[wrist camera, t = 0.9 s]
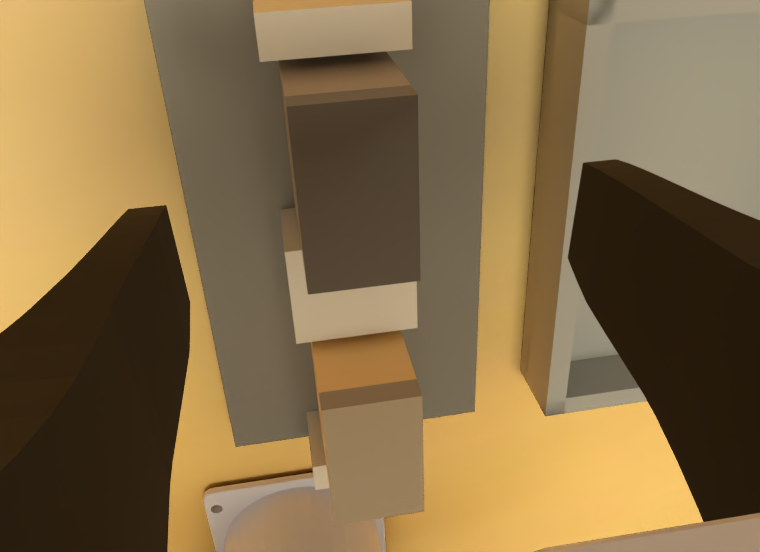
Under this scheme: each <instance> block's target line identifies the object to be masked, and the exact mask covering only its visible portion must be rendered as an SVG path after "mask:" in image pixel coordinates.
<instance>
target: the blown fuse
mask: <svg viewBox="0 0 760 552" xmlns="http://www.w3.org/2000/svg"><path fill="white" fill-rule="evenodd" d="M278 65H279V73H280V82H281V91H282V99H283V108H284V116H285V125H286V133H287V142H288V151H289V159H290V168H291V176H292V185H293V194H294V202H295V209H296V216H297V222H298V229H299V236H300V243H301V250H302V257H303V264H304V271H305V278H306V285H307V292H308V295H310V294H318V293H326V292H334V291H342V290H351V289H359V288H367V287H375V286H383V285H391V284H399V283H407V282H415V281H421V271H420V202H419V134H418V94H417V93H416V91H415V90H414V89H413V87H412V86H411V85H410V83H409V82H408V80H407V79H406V78H405V76H404V75H403V74H402V72H401V71H400V70H399V68H398V67H397V65H396V64H395V63H394V61H393V60H392V59H391V57H390V56H389V55H388V53H387V52H386V51H385V52H373V53H361V54H350V55H338V56H326V57H314V58H302V59H290V60H278Z"/></svg>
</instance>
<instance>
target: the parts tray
mask: <svg viewBox="0 0 760 552" xmlns="http://www.w3.org/2000/svg"><path fill="white" fill-rule="evenodd" d="M613 159H617V160H620V161H623V162H626V163H629V164H632V165H634V166H637V167H639V168H642V169H644V170H646V171H649V172H651V173H653V174H656V175H658V176H660V177H662V178H664V179H667V180H669V181H671V182H673V183H675V184H678V185H680V186H682V187H684V188H686V189H688V190H691V191H693V192H695V193H697V194H699V195H702V196H704V197H706V198H708V199H710V200H713V201H715V202H717V203H720V204H722V205H724V206H726V207H729V208H731V209H733V210H736V211H738V212H740V213H743V214H745V215H748V216H750V217H753V218H755V219H758V220H760V0H549V13H548V25H547V38H546V51H545V64H544V76H543V89H542V102H541V115H540V127H539V140H538V153H537V166H536V178H535V191H534V204H533V217H532V229H531V242H530V255H529V268H528V280H527V293H526V306H525V319H524V331H523V344H522V357H521V372H522V374H523V376H524V378H525V380H526V382H527V383H528V385H529V387H530V389H531V391H532V393H533V395H534V396H535V398H536V400H537V402H538V404H539V406H540V408H541V409H542V411H543V413H544V415H545V416H551V415H557V414H564V413H570V412H577V411H584V410H590V409H597V408H604V407H610V406H617V405H623V404H630V403H637V402H643V401H647V399H646V398H645V396H644V394H643V393H642V391H641V389H640V388H639V386H638V385H637V383H636V381H635V380H634V378H633V377H632V375H631V374H630V372H629V370H628V369H627V367H626V366H625V364H624V362H623V361H622V359H621V358H620V356H619V354H618V353H617V351H616V350H615V348H614V347H613V345H612V343H611V342H610V340H609V339H608V337H607V335H606V334H605V332H604V331H603V329H602V327H601V326H600V324H599V322H598V321H597V319H596V318H595V316H594V314H593V313H592V311H591V309H590V308H589V306H588V304H587V303H586V301H585V298H584V296H583V294H582V292H581V289H580V287H579V285H578V283H577V280H576V278H575V275H574V273H573V270H572V268H571V265H570V263H569V260H568V252H569V246H570V240H571V233H572V227H573V221H574V215H575V209H576V202H577V196H578V190H579V184H580V178H581V171H582V165H583V163H584V162H594V161H604V160H613Z"/></svg>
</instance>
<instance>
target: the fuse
mask: <svg viewBox="0 0 760 552" xmlns="http://www.w3.org/2000/svg"><path fill="white" fill-rule="evenodd" d="M311 348H312V357H313V365H314V374H315V383H316V391H317V400H318V408H319V415H320V423H321V430H322V438H323V445H324V453H325V460H326V468H327V475H328V482H329V490H330V497H331V505H332V512H333V520H334V526H337V525H343V524H349V523H356V522H362V521H368V520H374V519H380V518H386V517H392V516H398V515H404V514H410V513H416V512H423V511H424V477H423V408H422V394H421V391H420V388H419V384H418V381H417V378H416V375H415V372H414V369H413V366H412V363H411V360H410V357H409V354H408V351H407V348H406V345H405V342H404V339H403V336H402V333H401V330H398V331H390V332H382V333H375V334H367V335H360V336H352V337H345V338H337V339H330V340H322V341H314V342H311Z"/></svg>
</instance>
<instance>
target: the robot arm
mask: <svg viewBox="0 0 760 552" xmlns="http://www.w3.org/2000/svg"><path fill="white" fill-rule="evenodd" d="M568 260H569V263H570V265H571V268H572V270H573V273H574V275H575V278H576V280H577V283H578V285H579V287H580V289H581V292H582V294H583V296H584V298H585V301H586V303H587V304H588V306H589V308H590V309H591V311H592V313H593V314H594V316H595V318H596V319H597V321H598V322H599V324H600V326H601V327H602V329H603V331H604V332H605V334H606V335H607V337H608V339H609V340H610V342H611V343H612V345H613V347H614V348H615V350H616V351H617V353H618V354H619V356H620V358H621V359H622V361H623V362H624V364H625V366H626V367H627V369H628V370H629V372H630V374H631V375H632V377H633V378H634V380H635V381H636V383H637V385H638V386H639V388H640V389H641V391H642V393H643V394H644V396H645V398H646V399H647V401H648V403H649V405H650V406H651V408H652V410H653V412H654V414H655V415H656V417H657V419H658V422H659V424H660V426H661V428H662V430H663V432H664V434H665V436H666V438H667V440H668V442H669V445H670V447H671V449H672V451H673V453H674V455H675V457H676V459H677V461H678V464H679V466H680V468H681V470H682V473H683V475H684V477H685V480H686V482H687V484H688V486H689V489H690V491H691V493H692V496H693V498H694V500H695V502H696V505H697V507H698V509H699V512H700V514H701V517H702V519H703V522H701V523H695V524H689V525H683V526H676V527H670V528H664V529H658V530H652V531H646V532H640V533H634V534H627V535H621V536H615V537H609V538H603V539H597V540H591V541H584V542H578V543H572V544H566V545H560V546H554V547H548V548H544V549H541V550H538V551H534V552H760V220H758V219H755V218H753V217H750V216H748V215H745V214H743V213H740V212H738V211H736V210H733V209H731V208H729V207H726V206H724V205H722V204H720V203H717V202H715V201H713V200H710V199H708V198H706V197H704V196H702V195H699V194H697V193H695V192H693V191H691V190H688V189H686V188H684V187H682V186H680V185H678V184H675V183H673V182H671V181H669V180H667V179H664V178H662V177H660V176H658V175H656V174H653V173H651V172H649V171H646V170H644V169H642V168H639V167H637V166H634V165H632V164H629V163H626V162H623V161H620V160H617V159H613V160H604V161H594V162H584V163H583V165H582V171H581V178H580V184H579V190H578V196H577V202H576V209H575V215H574V221H573V227H572V233H571V240H570V246H569V252H568ZM189 348H190V300H189V296H188V292H187V288H186V284H185V280H184V276H183V272H182V268H181V264H180V260H179V256H178V251H177V247H176V243H175V239H174V235H173V231H172V227H171V223H170V219H169V215H168V211H167V207H166V205H164V206H155V207H145V208H135V209H128V210H127V211H126V212H125V213H124V214H123V215H122V216H121V217H120V218H119V219H118V220H117V221H116V223H115V224H114V225H113V226H112V227H111V228H110V229H109V230H108V231H107V232H106V234H105V235H104V236H103V237H102V238H101V239H100V240H99V241H98V242H97V243H96V244H95V246H94V247H93V248H92V249H91V250H90V251H89V252H88V253H87V254H86V255H85V256H84V257H83V258H82V259H81V260H80V261H79V262H78V263H77V264H76V266H75V267H74V268H73V269H72V270H71V271H70V272H69V273H68V274H67V275H66V276H65V277H64V278H63V279H61V280H60V281H59V282H58V283H57V284H56V285H55V286H54V287H53V288H52V289H51V290H50V291H49V292H48V293H47V294H45V295H44V296H43V297H42V298H41V299H40V300H39V301H38V302H37V303H36V304H35V305H34V306H33V307H32V308H31V309H29V310H28V311H27V312H26V313H25V314H24V315H22V316H21V317H20V318H19V319H18V320H16V321H15V322H14V323H13V324H12V325H10V326H9V327H8V328H7V329H5V330H4V331H3V332H1V333H0V552H167V543H168V518H169V494H170V480H171V470H172V461H173V455H174V448H175V442H176V436H177V429H178V423H179V417H180V410H181V404H182V398H183V391H184V385H185V378H186V372H187V365H188V358H189ZM203 503H204V507H205V511H206V515H207V518H208V522H209V526H210V530H211V534H212V538H213V542H214V546H215V550H216V552H386V544H385V527H384V518H380V519H374V520H368V521H362V522H356V523H349V524H343V525H337V526H334V520H333V512H332V505H331V497H330V490H329V488H326V489H320V490H315V483H314V475H313V472H312V473H305V474H299V475H292V476H286V477H279V478H273V479H266V480H260V481H253V482H247V483H240V484H234V485H227V486H221V487H214V488H211V489H208V490H207V491H206V492H205V493H204V502H203ZM215 505H220V506H215Z"/></svg>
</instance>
